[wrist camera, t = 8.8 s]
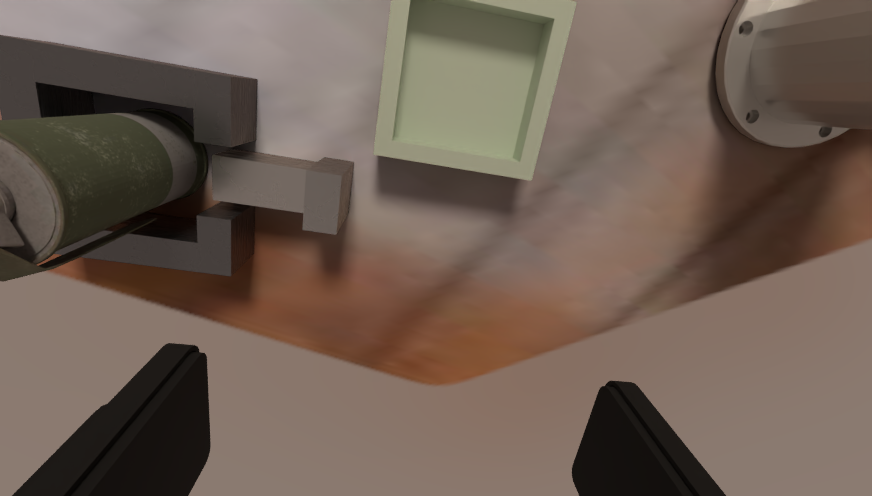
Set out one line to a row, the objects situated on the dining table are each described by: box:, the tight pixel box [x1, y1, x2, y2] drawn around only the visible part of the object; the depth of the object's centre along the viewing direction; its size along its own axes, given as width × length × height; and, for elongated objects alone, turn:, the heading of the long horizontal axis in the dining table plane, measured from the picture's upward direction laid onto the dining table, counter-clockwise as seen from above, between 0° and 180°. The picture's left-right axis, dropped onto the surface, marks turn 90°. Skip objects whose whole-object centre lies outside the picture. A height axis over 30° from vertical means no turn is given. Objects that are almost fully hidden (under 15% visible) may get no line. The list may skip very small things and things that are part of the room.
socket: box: [0, 35, 257, 276], centre depth 25 cm, size 12×12×4 cm
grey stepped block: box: [212, 149, 354, 235], centre depth 26 cm, size 8×4×5 cm, turn 80°
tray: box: [373, 0, 577, 181], centre depth 25 cm, size 10×10×3 cm
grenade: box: [0, 108, 208, 281], centre depth 20 cm, size 6×6×15 cm
